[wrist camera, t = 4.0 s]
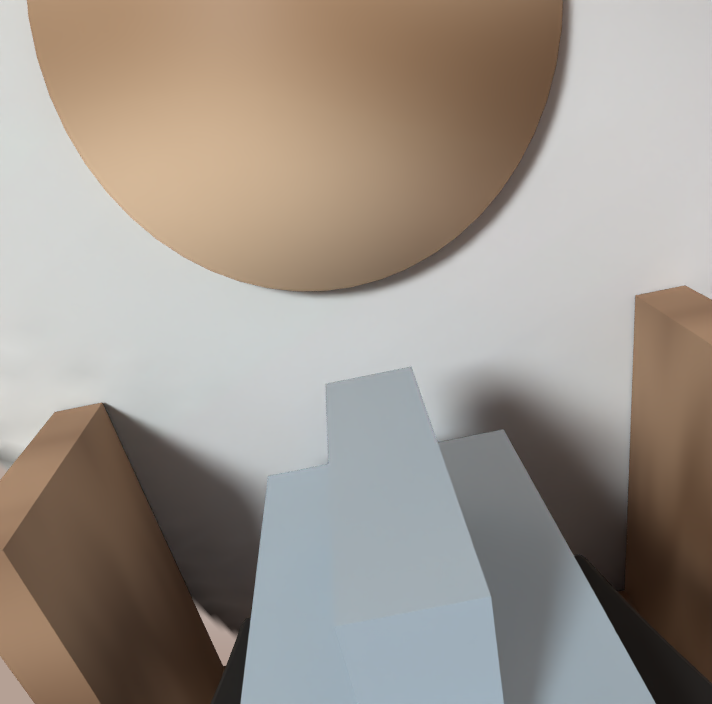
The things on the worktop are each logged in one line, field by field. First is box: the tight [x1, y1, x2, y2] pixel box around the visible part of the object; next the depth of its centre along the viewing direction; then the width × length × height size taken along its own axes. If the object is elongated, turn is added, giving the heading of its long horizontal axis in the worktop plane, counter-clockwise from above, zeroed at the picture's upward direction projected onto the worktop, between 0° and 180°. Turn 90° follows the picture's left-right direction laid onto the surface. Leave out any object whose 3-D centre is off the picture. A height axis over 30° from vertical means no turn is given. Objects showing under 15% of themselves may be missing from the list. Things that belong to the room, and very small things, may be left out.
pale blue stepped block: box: [241, 367, 656, 704], centre depth 8 cm, size 8×5×7 cm, turn 11°
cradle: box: [0, 286, 712, 704], centre depth 11 cm, size 10×13×4 cm
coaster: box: [27, 0, 563, 291], centre depth 9 cm, size 8×8×1 cm
